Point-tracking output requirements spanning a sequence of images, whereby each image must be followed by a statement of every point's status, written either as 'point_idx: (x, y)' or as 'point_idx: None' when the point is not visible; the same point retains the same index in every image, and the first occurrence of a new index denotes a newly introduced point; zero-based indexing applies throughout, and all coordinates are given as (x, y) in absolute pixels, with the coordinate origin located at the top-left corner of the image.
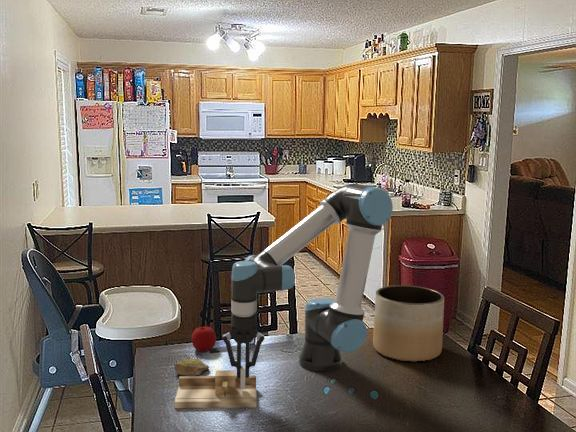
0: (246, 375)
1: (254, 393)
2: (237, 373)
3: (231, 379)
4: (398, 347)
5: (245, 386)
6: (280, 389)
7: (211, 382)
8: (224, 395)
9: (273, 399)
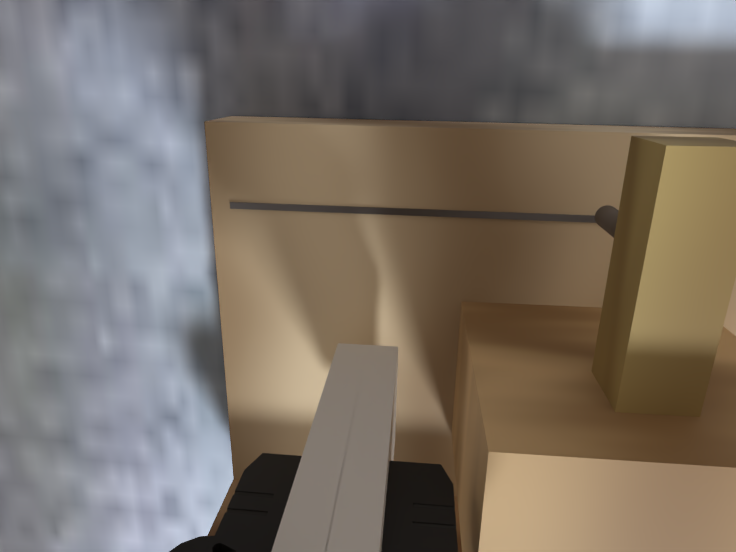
0: (284, 482)
1: (240, 309)
2: (441, 523)
3: (547, 411)
4: None
5: None
6: (42, 448)
7: None
8: (618, 211)
9: (77, 274)
